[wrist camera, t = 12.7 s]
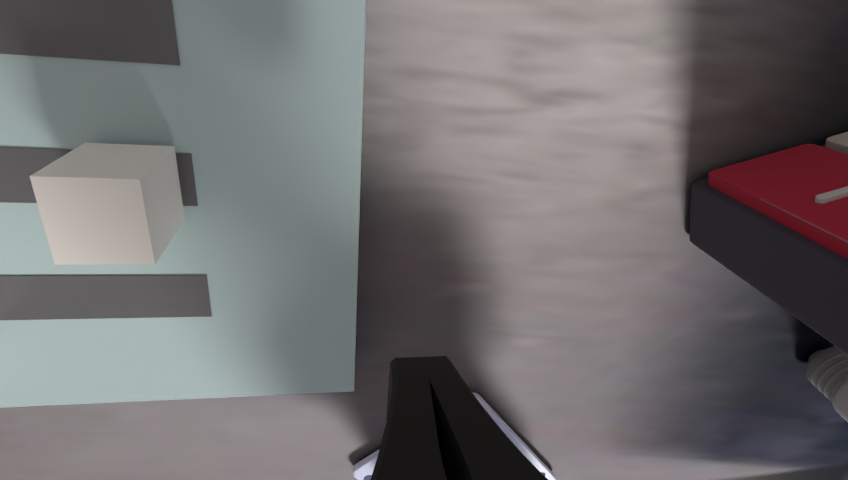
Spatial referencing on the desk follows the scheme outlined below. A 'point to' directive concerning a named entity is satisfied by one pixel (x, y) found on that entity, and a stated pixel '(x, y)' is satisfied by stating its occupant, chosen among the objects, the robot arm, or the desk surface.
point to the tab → (110, 204)
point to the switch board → (187, 198)
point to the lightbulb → (830, 376)
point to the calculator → (783, 229)
